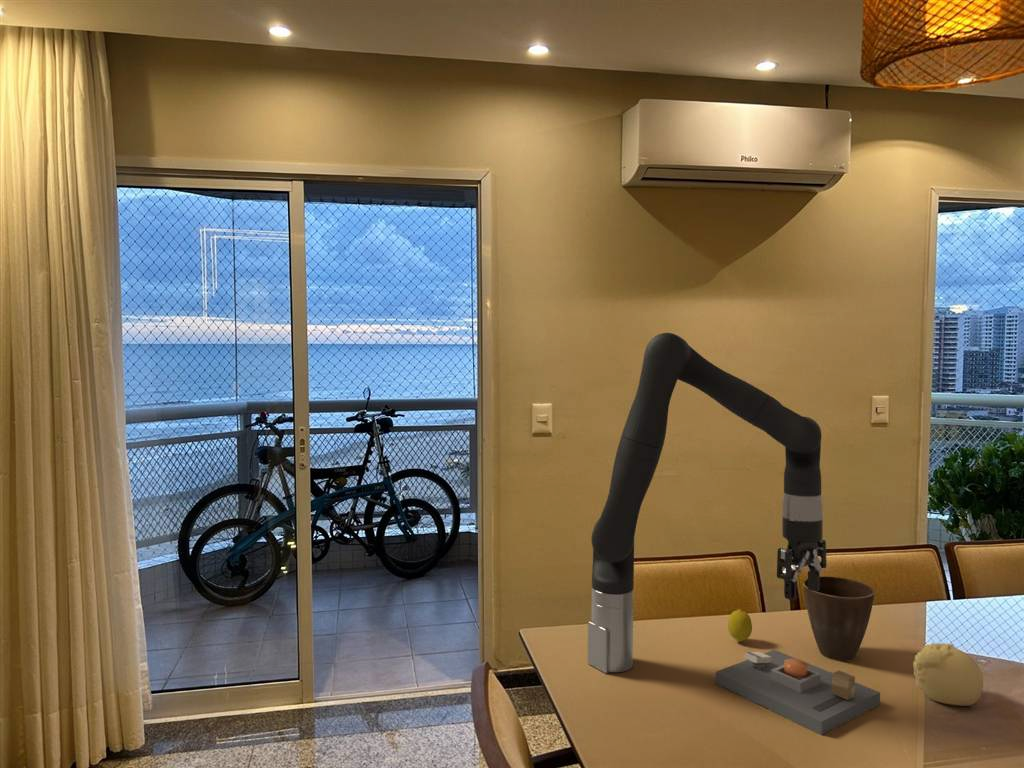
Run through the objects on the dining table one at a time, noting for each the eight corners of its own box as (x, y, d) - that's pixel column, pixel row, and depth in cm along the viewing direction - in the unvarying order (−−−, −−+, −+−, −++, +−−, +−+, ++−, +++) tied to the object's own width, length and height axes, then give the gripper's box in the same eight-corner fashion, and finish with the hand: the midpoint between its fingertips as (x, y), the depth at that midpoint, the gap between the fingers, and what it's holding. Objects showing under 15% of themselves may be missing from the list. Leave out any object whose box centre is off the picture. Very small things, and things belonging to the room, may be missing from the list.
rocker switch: (756, 663, 145) (757, 656, 146) (744, 658, 148) (745, 651, 148) (770, 662, 148) (771, 656, 148) (758, 657, 151) (759, 651, 151)
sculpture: (917, 679, 147) (918, 629, 147) (985, 697, 140) (986, 644, 139) (907, 699, 139) (908, 646, 138) (979, 719, 131) (980, 663, 131)
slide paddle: (847, 700, 132) (847, 679, 132) (831, 693, 135) (832, 673, 135) (854, 696, 134) (854, 676, 134) (838, 690, 136) (839, 670, 136)
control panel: (821, 735, 125) (821, 710, 125) (715, 683, 145) (715, 662, 145) (879, 704, 136) (880, 682, 136) (774, 660, 156) (774, 641, 156)
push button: (798, 679, 138) (799, 670, 138) (779, 671, 141) (779, 662, 141) (811, 674, 140) (811, 664, 140) (792, 666, 144) (792, 656, 144)
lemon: (753, 647, 163) (753, 614, 163) (728, 645, 164) (729, 612, 164) (750, 638, 169) (750, 606, 168) (726, 636, 170) (726, 604, 170)
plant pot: (866, 675, 149) (867, 602, 149) (794, 657, 158) (795, 588, 158) (878, 652, 161) (880, 584, 161) (811, 636, 170) (812, 572, 170)
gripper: (804, 508, 147) (804, 583, 147) (765, 517, 139) (765, 597, 139) (838, 513, 141) (838, 592, 141) (799, 524, 133) (799, 607, 133)
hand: (802, 594), depth 140 cm, fingers open, 8 cm apart
